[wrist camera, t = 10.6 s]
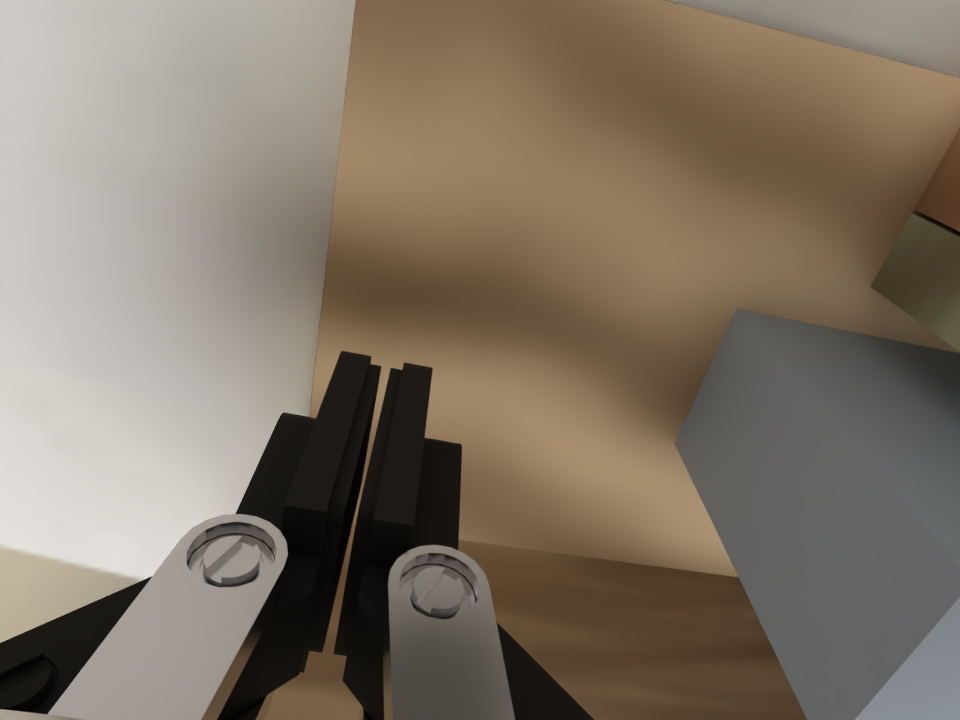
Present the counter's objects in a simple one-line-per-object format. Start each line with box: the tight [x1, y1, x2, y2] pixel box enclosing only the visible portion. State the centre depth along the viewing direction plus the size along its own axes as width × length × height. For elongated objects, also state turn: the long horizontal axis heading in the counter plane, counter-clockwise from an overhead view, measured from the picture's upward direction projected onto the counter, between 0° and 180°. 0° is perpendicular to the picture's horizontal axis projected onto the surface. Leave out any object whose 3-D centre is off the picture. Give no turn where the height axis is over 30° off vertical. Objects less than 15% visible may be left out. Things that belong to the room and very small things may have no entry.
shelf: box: [264, 0, 960, 720], centre depth 15 cm, size 17×24×10 cm
